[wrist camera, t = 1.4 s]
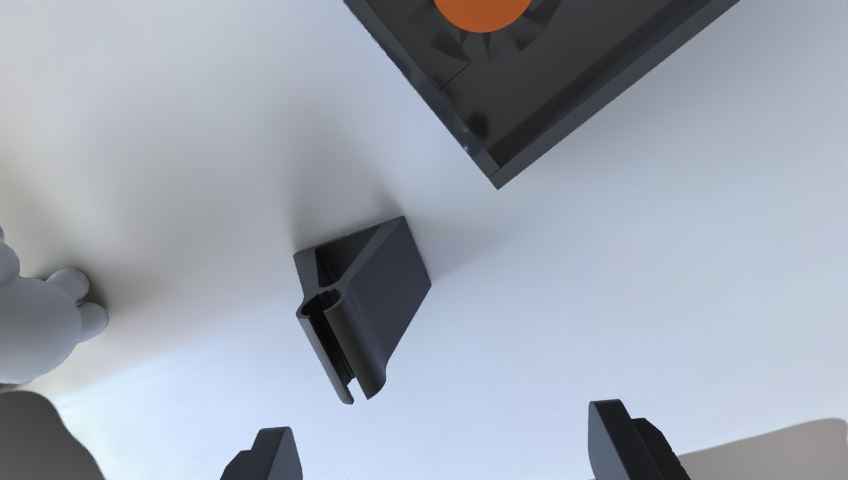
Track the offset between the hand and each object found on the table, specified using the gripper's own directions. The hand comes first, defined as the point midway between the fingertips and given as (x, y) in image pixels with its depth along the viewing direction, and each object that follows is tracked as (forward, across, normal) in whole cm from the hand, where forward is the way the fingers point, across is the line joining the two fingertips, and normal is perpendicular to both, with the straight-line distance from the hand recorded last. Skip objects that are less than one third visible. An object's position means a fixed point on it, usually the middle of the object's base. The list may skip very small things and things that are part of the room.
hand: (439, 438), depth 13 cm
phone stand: (+24, +6, +6) cm, 26 cm away
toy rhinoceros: (+25, +30, +3) cm, 39 cm away
